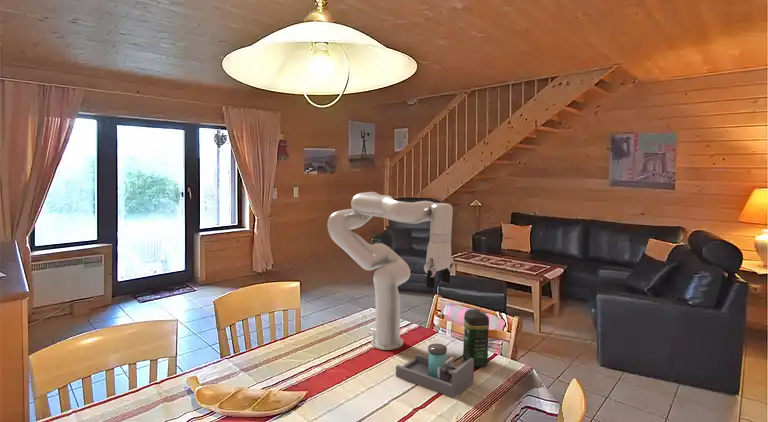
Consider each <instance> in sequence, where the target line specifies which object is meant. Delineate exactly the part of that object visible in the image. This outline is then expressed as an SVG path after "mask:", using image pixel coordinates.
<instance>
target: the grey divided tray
mask: <svg viewBox="0 0 768 422" xmlns="http://www.w3.org/2000/svg"><path fill="white" fill-rule="evenodd" d="M428 362H429V356H426V355H422V354H419V353H415V354H414V358H413V359H411V360H410V361H408V362H406V363H404V364H403V365H399V364H396V366H395V377H397V378H399V379H402V380H405V381H408V382H410V383H413V384H415V385H418V386H421V387H424V388H426V389H428V390H432V391H435V392H437V393H439V394H442V395H444V396H445V395H446V396H447V397H449V398H452V399H453V398H454V399H456V398H457V397H458V396H459V395H460V394H461V393H463V391H465V390H466V389H467V388H469V387H470V386H471V385H472V384H473V383H474V371H475V370H474V359H473V358H469V359H468V360H467V361H465V360H464V362H463V363H462V364H460V365H459V366H456V365H454V371H452V376H451V377H450V378H448V379H447V380H446V381H442V380H439V379H437V378H434V377H431V376H428Z"/></svg>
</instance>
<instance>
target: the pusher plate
mask: <svg viewBox="0 0 768 422" xmlns="http://www.w3.org/2000/svg"><path fill="white" fill-rule="evenodd" d="M454 366H455V357H453V356H451V357H450V358H449V359H446V361H445V362H444V363H443V364H441V365H440V366H438V369H437V379H439V380H442V381H446V380H447V379H448V378H450V377H451V376H452V371H454Z"/></svg>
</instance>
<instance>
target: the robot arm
mask: <svg viewBox="0 0 768 422" xmlns="http://www.w3.org/2000/svg"><path fill="white" fill-rule="evenodd" d="M350 203H351V204H350V206H351V208H347V209H341V210H337V211H335V212H333V213H332V214H330V216H328V219H327V224H326V225H327V231H328V234H329V237H330V238H331V240H332V241H333V242H334V243H335V244H336V245H337V246H338V247H339V248H341V249H342V250H343V251H344V252H345V253H347V255H348V256H350V257H351V259H352V260H353V261H355V263H357V265H359V267H361V268H362V269H363V270H365V271H373V270H375V269H376V270H375V271H374V273H373V279H372V281H373V287H374V292H375V293H374V294H375V324H374V325H375V328H374V327H371V328H370V329H369V331H368V335H370V336H372V339H371V345H372V347H374V348H376V349H378V350H383V351H393V350H394V351H395V350H398V349H400V348H402V347H404V339H403V338H402V337H401V335H400V334H401V298H400V297H401V296H400V293H399V292H400V291H399V289H398V287H399V286H401V285H402V284H405V283H406V282H407V281H409V278H410V276H411V268H410V266H409V264H408V263H407V262H406V261H405V260H404V259H403V258H402V257H401V256H400V255H398V253H396V252H395V251H394V250H393V249H392V248H391V247H390V246H388V245H387V244H384V243H381V242H379V243H373V244H371V243H368V242H367V241H366V240H365V239H364V238H362V236H360V235H359V234H357V233H356V232H354V231H352V230H355V229H358V228H361V227H363V226H364V225H366V223H367V222H369V221H370V220H371V219H372V218H373V217H377V218H384V219H387V220H390V221H394V222H397V223H403V224H411V225H413V224H415V225H417V224H422V223H426V222H429V221H430V226H429V227H430V229H429V230H430V231H429V242H428V244H427V248H426V255H425V256H426V258H425V264H424V265H423V270H424V273H425V276H426V281H425V282H426V283H425V286H426V288H430V289H435V285H436V281H435V280H436V277H435V275H436V273H437V272H439V271H441V282H444V283H448V284H449V283H450V282H451V272H452V267H453V262H454V259H455V258H453V257H452V230H453V229H452V226H453V206H452V205H451V204H450V203H445V202H434V201H430V200H422V201H421V200H419V201H415V202H410V201H409V202H408V201H402V200H401V201H400V200H395V199H394V198H393V197H392V196H391V195H386V194H379V193H378V192H376V191H367V192H366V191H365V192H359V193H357V194H355V195H353V197H352V198H351V202H350Z"/></svg>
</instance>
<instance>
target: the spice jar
mask: <svg viewBox="0 0 768 422" xmlns="http://www.w3.org/2000/svg"><path fill="white" fill-rule="evenodd" d="M427 348H428V349H427V352H428V357H429V362H428V376H431V377H434V378H437V369H438V366H440V365H441V364H443V363H444V362H445V361H447V351H448V347H447V346H446V345H445V344H443V343H431V344H428V346H427Z"/></svg>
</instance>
